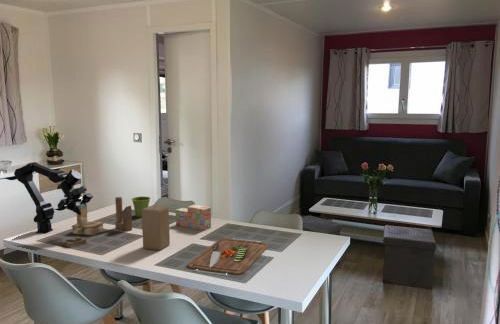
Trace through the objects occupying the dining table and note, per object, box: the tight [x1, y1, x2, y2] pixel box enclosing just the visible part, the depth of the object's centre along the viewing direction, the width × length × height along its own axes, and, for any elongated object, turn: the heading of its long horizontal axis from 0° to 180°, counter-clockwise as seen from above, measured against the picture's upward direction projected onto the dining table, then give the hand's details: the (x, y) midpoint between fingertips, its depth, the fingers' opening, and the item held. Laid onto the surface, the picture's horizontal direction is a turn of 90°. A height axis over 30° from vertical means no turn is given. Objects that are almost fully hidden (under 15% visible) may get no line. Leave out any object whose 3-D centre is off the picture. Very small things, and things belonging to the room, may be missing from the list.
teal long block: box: [76, 204, 88, 227], centre depth 222 cm, size 4×4×11 cm
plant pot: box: [131, 196, 151, 218], centre depth 266 cm, size 12×12×11 cm
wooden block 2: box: [115, 196, 133, 232], centre depth 237 cm, size 4×11×18 cm, turn 54°
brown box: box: [71, 220, 104, 236], centre depth 232 cm, size 14×10×4 cm
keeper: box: [61, 236, 87, 249], centre depth 213 cm, size 8×9×2 cm
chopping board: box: [186, 237, 270, 277], centre depth 195 cm, size 45×27×3 cm, turn 161°
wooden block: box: [141, 204, 171, 251], centre depth 206 cm, size 10×10×20 cm
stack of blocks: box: [175, 204, 212, 231], centre depth 242 cm, size 21×6×12 cm, turn 58°
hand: (83, 213), depth 221 cm, fingers closed on teal long block, 4 cm apart
